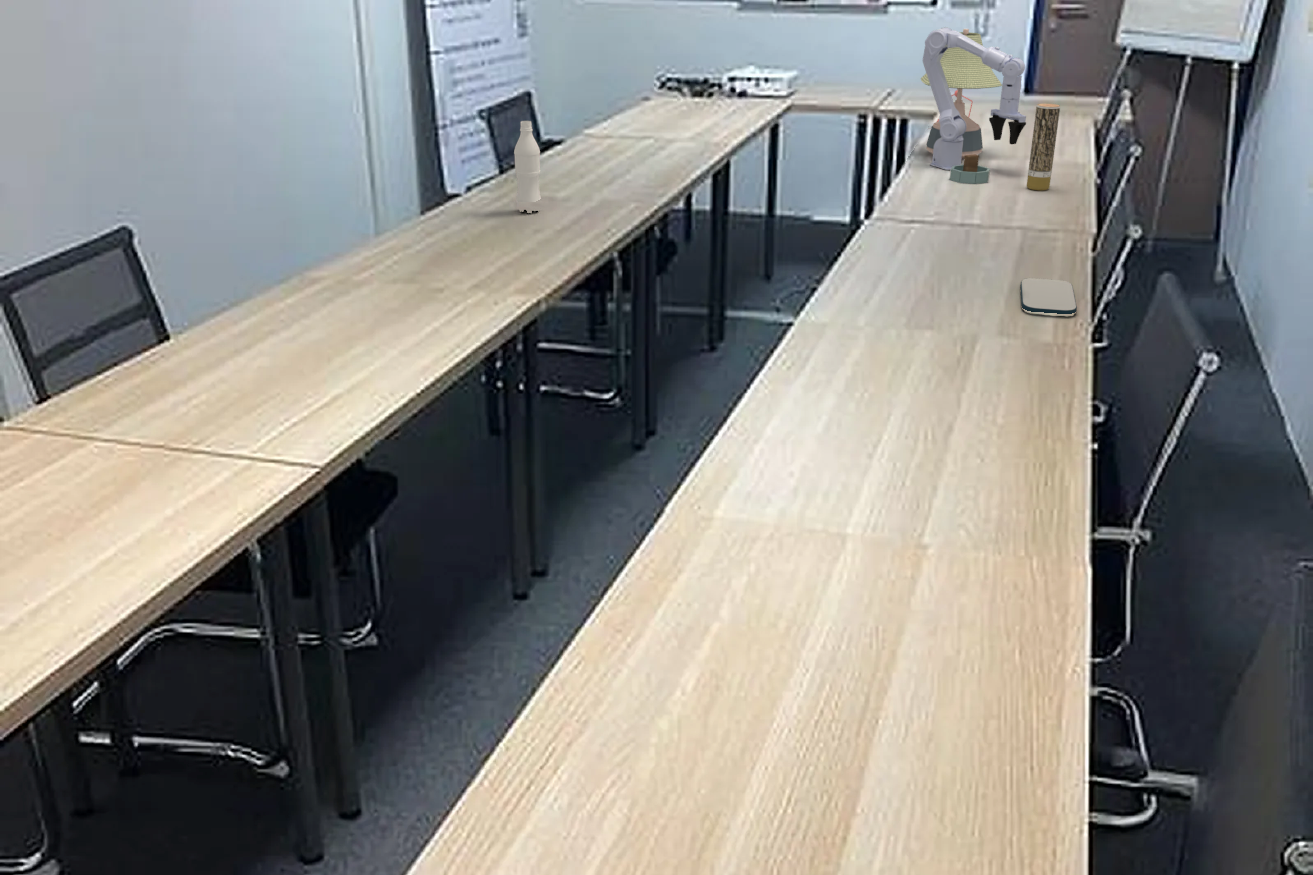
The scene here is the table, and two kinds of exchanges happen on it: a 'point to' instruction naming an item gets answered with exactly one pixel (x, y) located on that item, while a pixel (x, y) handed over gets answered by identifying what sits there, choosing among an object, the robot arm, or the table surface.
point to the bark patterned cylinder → (1043, 146)
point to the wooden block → (971, 163)
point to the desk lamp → (962, 74)
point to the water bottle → (527, 165)
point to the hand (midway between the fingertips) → (1004, 141)
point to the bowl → (969, 175)
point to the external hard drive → (1047, 296)
